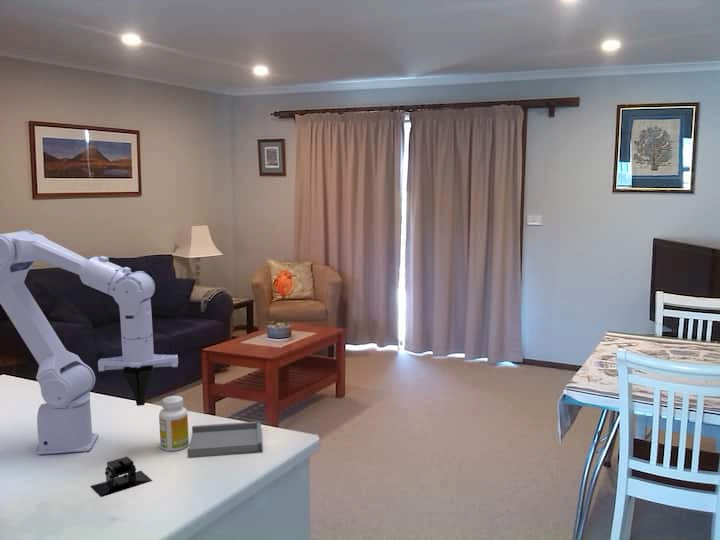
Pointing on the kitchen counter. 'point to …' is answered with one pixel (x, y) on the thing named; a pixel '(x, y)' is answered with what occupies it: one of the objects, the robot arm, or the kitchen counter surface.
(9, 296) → the robot arm
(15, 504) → the kitchen counter surface
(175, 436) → the supplement bottle
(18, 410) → the kitchen counter surface
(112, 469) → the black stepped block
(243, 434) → the gray tray
